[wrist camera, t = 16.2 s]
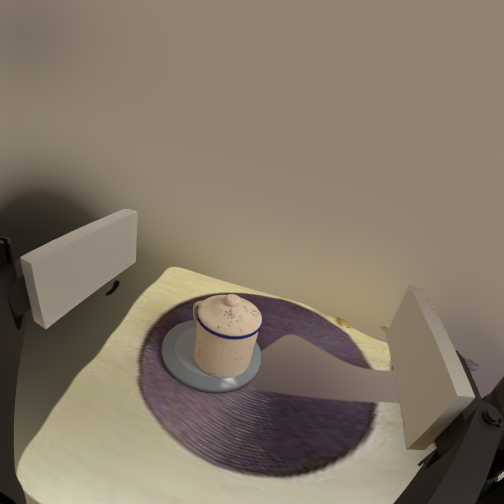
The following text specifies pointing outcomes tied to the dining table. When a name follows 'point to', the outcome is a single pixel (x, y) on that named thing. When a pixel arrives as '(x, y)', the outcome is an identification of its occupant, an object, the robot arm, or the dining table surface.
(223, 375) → the teacup with lid
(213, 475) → the dining table surface
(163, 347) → the dish
